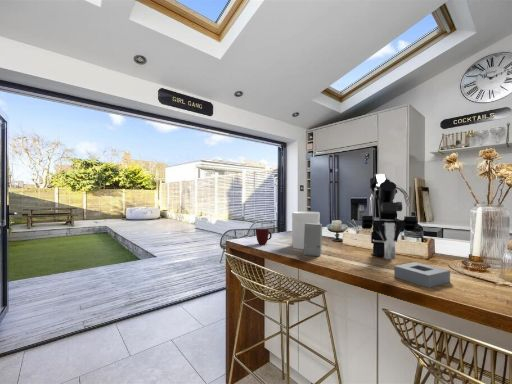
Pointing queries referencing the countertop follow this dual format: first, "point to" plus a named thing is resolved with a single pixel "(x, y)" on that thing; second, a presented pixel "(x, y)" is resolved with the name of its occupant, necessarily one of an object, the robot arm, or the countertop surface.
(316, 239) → the skincare box
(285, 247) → the countertop surface
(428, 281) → the hole block
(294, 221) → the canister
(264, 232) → the mug
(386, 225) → the steel peg
